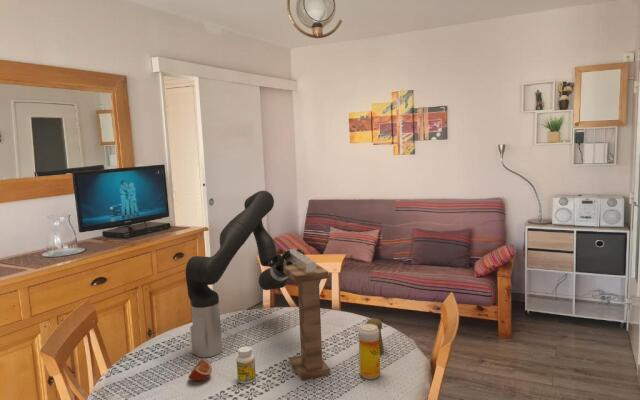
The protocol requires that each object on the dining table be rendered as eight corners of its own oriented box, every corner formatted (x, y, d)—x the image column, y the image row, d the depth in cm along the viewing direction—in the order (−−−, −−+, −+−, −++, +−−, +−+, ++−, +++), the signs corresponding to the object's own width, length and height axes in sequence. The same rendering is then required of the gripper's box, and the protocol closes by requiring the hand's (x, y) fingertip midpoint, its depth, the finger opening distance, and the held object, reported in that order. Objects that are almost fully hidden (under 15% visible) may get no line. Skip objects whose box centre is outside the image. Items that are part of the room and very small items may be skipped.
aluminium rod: (286, 258, 156) (285, 249, 155) (294, 257, 157) (294, 248, 156) (306, 273, 137) (306, 263, 137) (316, 272, 138) (315, 262, 138)
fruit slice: (194, 372, 148) (193, 357, 147) (215, 372, 147) (214, 356, 147) (185, 385, 139) (184, 369, 139) (207, 385, 139) (206, 369, 138)
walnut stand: (287, 363, 151) (283, 265, 147) (317, 357, 154) (313, 261, 151) (300, 381, 139) (296, 276, 135) (332, 374, 142) (328, 271, 139)
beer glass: (381, 379, 138) (380, 330, 137) (360, 380, 138) (359, 331, 137) (379, 369, 144) (377, 322, 143) (359, 370, 144) (357, 323, 143)
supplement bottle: (258, 376, 143) (257, 346, 142) (251, 385, 138) (249, 353, 137) (242, 374, 145) (240, 344, 144) (234, 383, 140) (232, 352, 139)
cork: (385, 355, 154) (384, 323, 153) (366, 355, 154) (365, 323, 153) (382, 347, 160) (382, 316, 159) (365, 347, 160) (364, 316, 159)
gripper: (261, 259, 165) (271, 243, 151) (299, 255, 170) (312, 239, 155) (264, 280, 163) (275, 266, 148) (303, 275, 168) (317, 260, 153)
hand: (294, 252), depth 152 cm, fingers closed on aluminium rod, 3 cm apart
